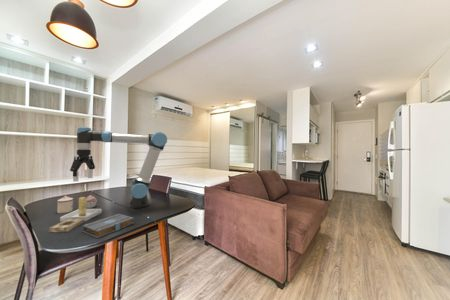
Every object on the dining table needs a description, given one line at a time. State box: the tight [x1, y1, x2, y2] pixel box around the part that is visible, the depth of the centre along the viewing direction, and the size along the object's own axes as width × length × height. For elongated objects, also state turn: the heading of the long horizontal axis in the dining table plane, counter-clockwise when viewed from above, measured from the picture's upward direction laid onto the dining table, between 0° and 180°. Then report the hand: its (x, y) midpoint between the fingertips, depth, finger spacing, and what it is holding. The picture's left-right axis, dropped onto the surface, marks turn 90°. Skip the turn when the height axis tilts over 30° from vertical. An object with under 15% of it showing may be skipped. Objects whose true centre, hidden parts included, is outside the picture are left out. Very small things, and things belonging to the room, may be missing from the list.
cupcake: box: [86, 194, 98, 209], centre depth 140 cm, size 9×9×10 cm
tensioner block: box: [48, 219, 84, 233], centre depth 103 cm, size 10×12×2 cm
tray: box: [59, 208, 103, 223], centre depth 120 cm, size 16×16×3 cm
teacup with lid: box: [56, 195, 74, 214], centre depth 131 cm, size 12×9×12 cm
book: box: [81, 213, 134, 239], centre depth 105 cm, size 21×16×5 cm
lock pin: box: [78, 196, 87, 216], centre depth 120 cm, size 4×4×13 cm
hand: (83, 179), depth 120 cm, fingers open, 13 cm apart
